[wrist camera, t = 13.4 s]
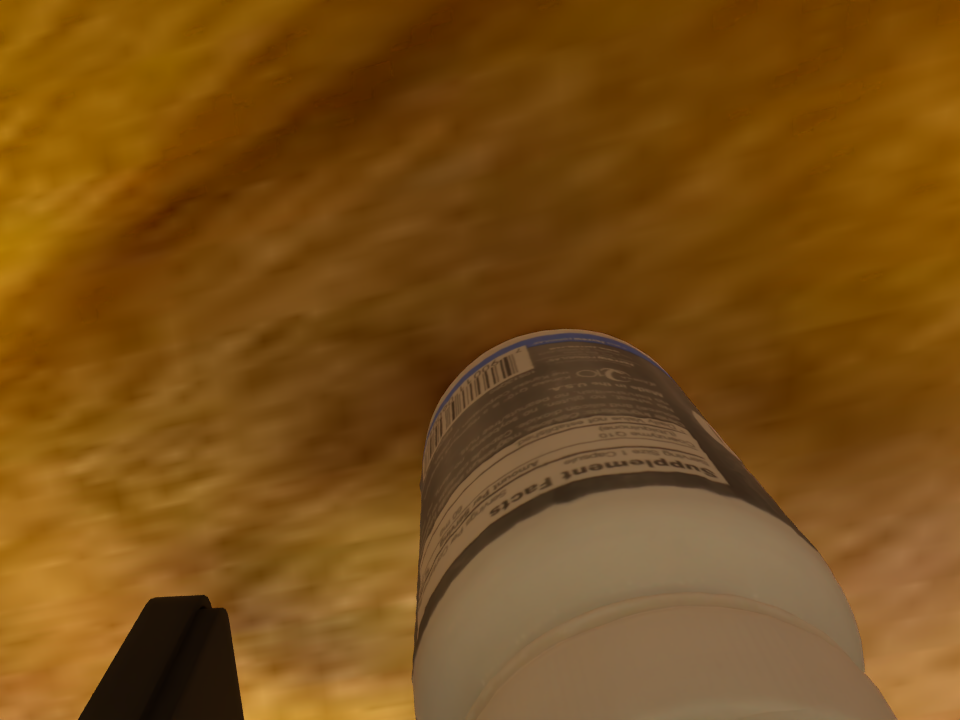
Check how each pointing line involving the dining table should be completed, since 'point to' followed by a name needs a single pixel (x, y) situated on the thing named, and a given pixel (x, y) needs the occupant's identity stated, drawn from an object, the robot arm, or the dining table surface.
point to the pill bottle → (613, 556)
